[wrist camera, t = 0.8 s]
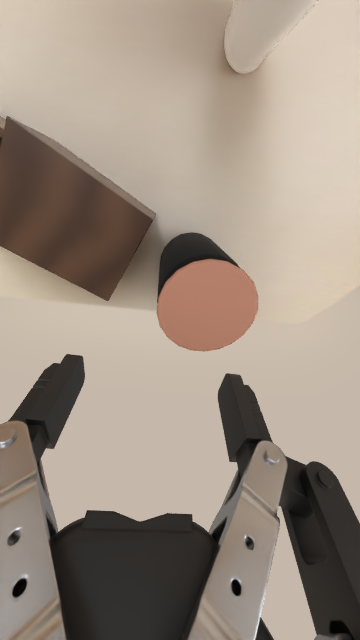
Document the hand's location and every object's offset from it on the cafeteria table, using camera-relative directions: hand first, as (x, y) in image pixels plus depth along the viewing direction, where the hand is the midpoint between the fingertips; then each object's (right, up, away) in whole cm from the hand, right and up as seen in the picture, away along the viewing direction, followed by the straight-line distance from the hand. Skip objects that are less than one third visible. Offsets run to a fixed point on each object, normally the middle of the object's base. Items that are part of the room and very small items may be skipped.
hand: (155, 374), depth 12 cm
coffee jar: (+3, +13, +25) cm, 29 cm away
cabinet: (-12, +19, +21) cm, 31 cm away
